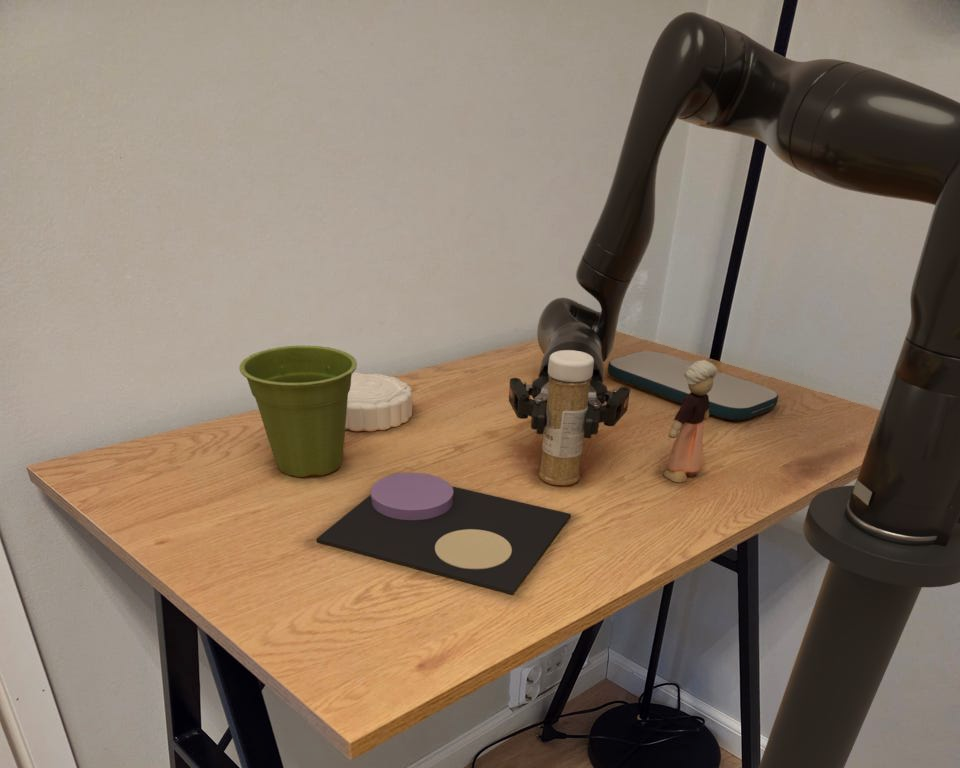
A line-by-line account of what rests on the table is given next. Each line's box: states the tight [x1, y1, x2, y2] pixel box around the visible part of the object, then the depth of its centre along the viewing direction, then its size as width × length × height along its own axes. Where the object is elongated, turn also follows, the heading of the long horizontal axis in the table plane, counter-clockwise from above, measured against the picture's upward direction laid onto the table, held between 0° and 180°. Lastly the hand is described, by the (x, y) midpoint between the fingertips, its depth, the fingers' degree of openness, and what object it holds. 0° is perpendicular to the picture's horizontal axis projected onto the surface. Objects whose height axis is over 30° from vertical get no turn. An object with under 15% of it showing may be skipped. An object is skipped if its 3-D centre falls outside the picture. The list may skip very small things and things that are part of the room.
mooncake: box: [345, 372, 413, 433], centre depth 102 cm, size 12×12×4 cm
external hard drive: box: [607, 350, 779, 421], centre depth 113 cm, size 24×12×2 cm, turn 41°
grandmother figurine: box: [663, 359, 718, 484], centre depth 89 cm, size 8×4×13 cm, turn 151°
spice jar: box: [538, 350, 594, 486], centre depth 86 cm, size 5×5×13 cm
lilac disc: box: [370, 472, 454, 520], centre depth 83 cm, size 8×8×1 cm
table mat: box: [315, 485, 572, 596], centre depth 80 cm, size 20×16×1 cm
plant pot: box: [239, 345, 358, 478], centre depth 87 cm, size 12×12×11 cm
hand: (564, 427), depth 84 cm, fingers closed on spice jar, 4 cm apart
